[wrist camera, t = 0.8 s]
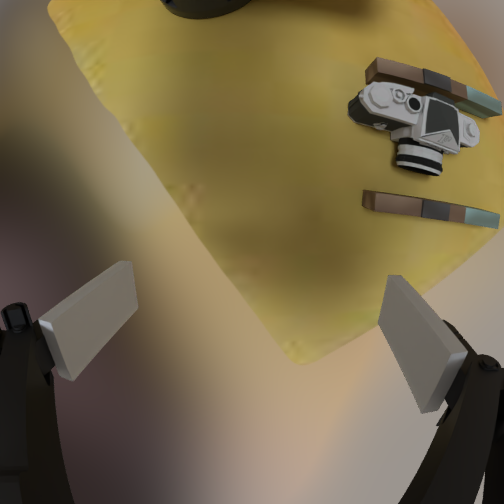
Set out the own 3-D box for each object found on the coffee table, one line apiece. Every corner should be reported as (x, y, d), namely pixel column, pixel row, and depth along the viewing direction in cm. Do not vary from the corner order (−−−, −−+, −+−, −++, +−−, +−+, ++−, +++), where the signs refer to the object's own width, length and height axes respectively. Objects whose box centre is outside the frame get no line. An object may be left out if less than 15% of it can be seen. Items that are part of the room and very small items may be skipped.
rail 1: (365, 70, 28) (377, 55, 23) (481, 106, 27) (502, 101, 21) (365, 83, 29) (378, 70, 24) (482, 118, 27) (503, 114, 22)
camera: (339, 154, 32) (362, 147, 22) (346, 89, 29) (368, 62, 20) (445, 182, 31) (489, 188, 21) (450, 123, 28) (493, 114, 19)
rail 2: (363, 189, 33) (377, 193, 27) (479, 208, 31) (501, 215, 26) (361, 205, 33) (375, 211, 28) (478, 222, 31) (499, 229, 26)
